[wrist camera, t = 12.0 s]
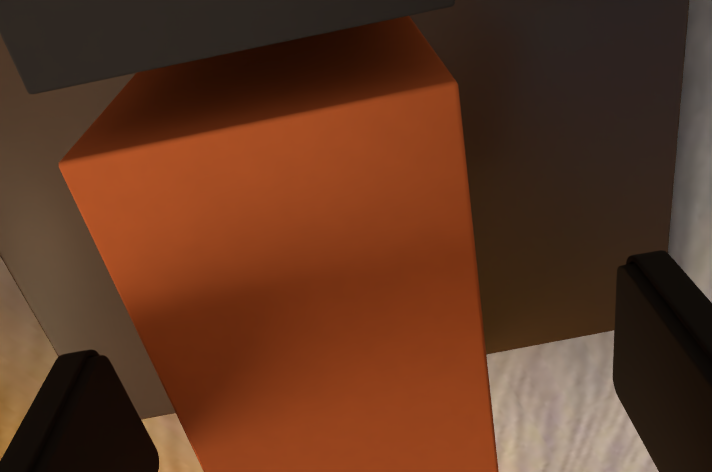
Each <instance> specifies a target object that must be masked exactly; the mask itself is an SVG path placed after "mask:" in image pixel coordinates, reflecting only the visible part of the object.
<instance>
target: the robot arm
mask: <svg viewBox="0 0 712 472" xmlns="http://www.w3.org/2000/svg"><path fill="white" fill-rule="evenodd" d="M613 382H614V387H615V390H616V393H617V395H618V397H619V399H620V401H621V403H622V405H623V407H624V409H625V410H626V412H627V414H628V416H629V418H630V419H631V421H632V423H633V425H634V427H635V429H636V430H637V432H638V434H639V436H640V438H641V440H642V441H643V443H644V445H645V447H646V449H647V451H648V452H649V454H650V456H651V458H652V460H653V462H654V463H655V465H656V467H657V469H658V471H659V472H712V303H711V302H710V301H709V299H708V298H707V297H706V296H705V295H704V294H703V293H702V291H701V290H700V289H699V288H698V287H697V286H696V285H695V283H694V282H693V281H692V280H691V279H690V278H689V277H688V276H687V274H686V273H685V272H684V271H683V270H682V269H681V268H680V266H679V265H678V264H677V263H676V262H675V261H674V260H673V258H672V257H671V256H670V255H669V254H668V253H667V252H666V251H663V250H659V251H654V252H648V253H642V254H636V255H631V256H629V257H628V258H627V261H626V265H621V266H619V267H618V269H617V279H616V305H615V331H614V357H613ZM158 469H159V456H158V452H157V449H156V447H155V445H154V444H153V442H152V440H151V438H150V436H149V434H148V432H147V430H146V428H145V426H144V425H143V423H142V421H141V419H140V417H139V415H138V413H137V411H136V409H135V407H134V406H133V404H132V402H131V400H130V398H129V396H128V394H127V392H126V390H125V388H124V386H123V385H122V383H121V381H120V379H119V377H118V375H117V373H116V371H115V369H114V367H113V366H112V364H111V362H110V360H109V359H108V357H106V356H105V355H101V356H100V355H99V353H98V352H97V351H95V350H91V349H90V350H84V351H78V352H73V353H67V354H62V355H60V356H59V357H58V358H57V360H56V361H55V363H54V365H53V367H52V368H51V370H50V372H49V374H48V376H47V377H46V379H45V381H44V383H43V385H42V387H41V388H40V390H39V392H38V394H37V396H36V397H35V399H34V401H33V403H32V405H31V406H30V408H29V410H28V412H27V414H26V415H25V417H24V419H23V421H22V423H21V425H20V426H19V428H18V430H17V432H16V434H15V435H14V437H13V439H12V441H11V443H10V444H9V446H8V448H7V450H6V452H5V453H4V455H3V457H2V459H1V461H0V472H158Z"/></svg>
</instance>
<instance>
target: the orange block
mask: <svg viewBox="0 0 712 472" xmlns="http://www.w3.org/2000/svg"><path fill="white" fill-rule="evenodd" d="M59 169H60V171H61V173H62V175H63V177H64V179H65V181H66V183H67V185H68V188H69V190H70V192H71V194H72V196H73V198H74V200H75V202H76V204H77V206H78V208H79V211H80V213H81V215H82V217H83V219H84V221H85V223H86V225H87V227H88V229H89V232H90V234H91V236H92V238H93V240H94V242H95V244H96V246H97V248H98V250H99V253H100V255H101V257H102V259H103V261H104V263H105V265H106V267H107V269H108V271H109V274H110V276H111V278H112V280H113V282H114V284H115V286H116V288H117V290H118V292H119V295H120V297H121V299H122V301H123V303H124V305H125V307H126V309H127V311H128V313H129V316H130V318H131V320H132V322H133V324H134V326H135V328H136V330H137V332H138V334H139V337H140V339H141V341H142V343H143V345H144V347H145V349H146V351H147V353H148V355H149V357H150V360H151V362H152V364H153V366H154V368H155V370H156V372H157V374H158V376H159V378H160V381H161V383H162V385H163V387H164V389H165V391H166V393H167V395H168V397H169V399H170V402H171V404H172V406H173V408H174V410H175V412H176V414H177V416H178V418H179V420H180V423H181V425H182V427H183V429H184V431H185V433H186V435H187V437H188V439H189V441H190V444H191V446H192V448H193V450H194V452H195V454H196V456H197V458H198V460H199V462H200V465H201V467H202V469H203V471H204V472H498V463H497V453H496V444H495V434H494V424H493V415H492V405H491V395H490V386H489V376H488V367H487V357H486V347H485V338H484V328H483V319H482V309H481V299H480V290H479V280H478V271H477V261H476V251H475V242H474V232H473V222H472V213H471V203H470V194H469V184H468V174H467V165H466V155H465V146H464V136H463V126H462V117H461V107H460V98H459V88H458V84H457V82H456V80H455V79H454V78H453V76H452V75H451V73H450V72H449V71H448V69H447V68H446V66H445V65H444V64H443V62H442V61H441V60H440V58H439V57H438V55H437V54H436V53H435V51H434V50H433V48H432V47H431V46H430V44H429V43H428V41H427V40H426V39H425V37H424V36H423V35H422V33H421V32H420V30H419V29H418V28H417V26H416V25H415V23H414V22H413V21H412V19H411V18H410V17H409V16H406V17H401V18H396V19H391V20H386V21H382V22H377V23H372V24H367V25H363V26H358V27H353V28H348V29H343V30H339V31H334V32H329V33H324V34H320V35H315V36H310V37H305V38H300V39H296V40H291V41H286V42H281V43H277V44H272V45H267V46H262V47H257V48H253V49H248V50H243V51H238V52H234V53H229V54H224V55H219V56H214V57H210V58H205V59H200V60H195V61H191V62H186V63H181V64H176V65H171V66H167V67H162V68H157V69H152V70H148V71H143V72H138V73H136V74H135V75H134V76H133V77H132V79H131V80H130V81H129V82H128V83H127V84H126V85H125V87H124V88H123V89H122V90H121V91H120V92H119V94H118V95H117V96H116V97H115V98H114V99H113V100H112V102H111V103H110V104H109V105H108V106H107V107H106V109H105V110H104V111H103V112H102V113H101V114H100V116H99V117H98V118H97V119H96V120H95V121H94V122H93V124H92V125H91V126H90V127H89V128H88V129H87V131H86V132H85V133H84V134H83V135H82V136H81V137H80V139H79V140H78V141H77V142H76V143H75V144H74V146H73V147H72V148H71V149H70V150H69V151H68V152H67V154H66V155H65V156H64V157H63V158H62V159H61V161H60V162H59Z"/></svg>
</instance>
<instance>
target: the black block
mask: <svg viewBox="0 0 712 472" xmlns="http://www.w3.org/2000/svg"><path fill="white" fill-rule="evenodd" d="M454 4H455V0H0V35H1V37H2V39H3V41H4V43H5V45H6V47H7V49H8V52H9V54H10V56H11V58H12V60H13V62H14V64H15V66H16V69H17V71H18V73H19V75H20V77H21V79H22V81H23V83H24V85H25V88H26V90H27V92H28V93H29V94H38V93H42V92H47V91H52V90H57V89H61V88H66V87H71V86H76V85H81V84H85V83H90V82H95V81H100V80H105V79H109V78H114V77H119V76H124V75H128V74H133V73H138V72H143V71H148V70H152V69H157V68H162V67H167V66H171V65H176V64H181V63H186V62H191V61H195V60H200V59H205V58H210V57H214V56H219V55H224V54H229V53H234V52H238V51H243V50H248V49H253V48H257V47H262V46H267V45H272V44H277V43H281V42H286V41H291V40H296V39H300V38H305V37H310V36H315V35H320V34H324V33H329V32H334V31H339V30H343V29H348V28H353V27H358V26H363V25H367V24H372V23H377V22H382V21H386V20H391V19H396V18H401V17H406V16H410V15H415V14H420V13H425V12H429V11H434V10H439V9H444V8H449V7H452V6H454Z"/></svg>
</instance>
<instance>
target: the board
mask: <svg viewBox="0 0 712 472" xmlns="http://www.w3.org/2000/svg"><path fill="white" fill-rule="evenodd" d="M688 11H689V0H455V4H454V6H452V7H449V8H444V9H439V10H434V11H429V12H425V13H420V14H415V15H410V16H409V17H410V18H411V19H412V21H413V22H414V23H415V25H416V26H417V28H418V29H419V30H420V32H421V33H422V35H423V36H424V37H425V39H426V40H427V41H428V43H429V44H430V46H431V47H432V48H433V50H434V51H435V53H436V54H437V55H438V57H439V58H440V60H441V61H442V62H443V64H444V65H445V66H446V68H447V69H448V71H449V72H450V73H451V75H452V76H453V78H454V79H455V80H456V82H457V84H458V88H459V98H460V107H461V117H462V126H463V136H464V146H465V155H466V165H467V174H468V184H469V194H470V203H471V213H472V222H473V232H474V242H475V251H476V261H477V271H478V280H479V290H480V299H481V309H482V319H483V328H484V338H485V347H486V354H491V353H496V352H501V351H507V350H512V349H517V348H523V347H528V346H533V345H539V344H544V343H549V342H554V341H560V340H565V339H570V338H576V337H581V336H586V335H592V334H597V333H602V332H608V331H613V330H615V305H616V279H617V269H618V267H619V266H621V265H626V261H627V258H628V257H629V256H631V255H636V254H642V253H648V252H654V251H659V250H663V251H666V252H667V253H668V243H669V231H670V220H671V208H672V196H673V185H674V173H675V162H676V150H677V138H678V127H679V115H680V104H681V92H682V80H683V69H684V57H685V45H686V34H687V22H688ZM135 74H136V73H133V74H128V75H124V76H119V77H114V78H109V79H105V80H100V81H95V82H90V83H85V84H81V85H76V86H71V87H66V88H61V89H57V90H52V91H47V92H42V93H38V94H29V93H28V92H27V90H26V88H25V85H24V83H23V81H22V79H21V77H20V75H19V73H18V71H17V69H16V66H15V64H14V62H13V60H12V58H11V56H10V54H9V52H8V49H7V47H6V45H5V43H4V41H3V39H2V37H1V35H0V256H1V258H2V259H3V261H4V263H5V265H6V266H7V268H8V270H9V272H10V273H11V275H12V277H13V279H14V280H15V282H16V284H17V285H18V287H19V289H20V291H21V292H22V294H23V296H24V298H25V299H26V301H27V303H28V305H29V306H30V308H31V310H32V311H33V313H34V315H35V317H36V318H37V320H38V322H39V324H40V325H41V327H42V329H43V331H44V332H45V334H46V336H47V338H48V339H49V341H50V343H51V344H52V346H53V348H54V350H55V351H56V353H57V355H58V357H59V356H60V355H62V354H67V353H73V352H78V351H84V350H90V349H91V350H95V351H97V352H98V353H99V355H100V356H101V355H105V356H106V357H108V359H109V360H110V362H111V364H112V366H113V367H114V369H115V371H116V373H117V375H118V377H119V379H120V381H121V383H122V385H123V386H124V388H125V390H126V392H127V394H128V396H129V398H130V400H131V402H132V404H133V406H134V407H135V409H136V411H137V413H138V415H139V417H140V419H146V418H151V417H156V416H162V415H167V414H172V413H176V412H175V410H174V408H173V406H172V404H171V402H170V399H169V397H168V395H167V393H166V391H165V389H164V387H163V385H162V383H161V381H160V378H159V376H158V374H157V372H156V370H155V368H154V366H153V364H152V362H151V360H150V357H149V355H148V353H147V351H146V349H145V347H144V345H143V343H142V341H141V339H140V337H139V334H138V332H137V330H136V328H135V326H134V324H133V322H132V320H131V318H130V316H129V313H128V311H127V309H126V307H125V305H124V303H123V301H122V299H121V297H120V295H119V292H118V290H117V288H116V286H115V284H114V282H113V280H112V278H111V276H110V274H109V271H108V269H107V267H106V265H105V263H104V261H103V259H102V257H101V255H100V253H99V250H98V248H97V246H96V244H95V242H94V240H93V238H92V236H91V234H90V232H89V229H88V227H87V225H86V223H85V221H84V219H83V217H82V215H81V213H80V211H79V208H78V206H77V204H76V202H75V200H74V198H73V196H72V194H71V192H70V190H69V188H68V185H67V183H66V181H65V179H64V177H63V175H62V173H61V171H60V169H59V162H60V161H61V159H62V158H63V157H64V156H65V155H66V154H67V152H68V151H69V150H70V149H71V148H72V147H73V146H74V144H75V143H76V142H77V141H78V140H79V139H80V137H81V136H82V135H83V134H84V133H85V132H86V131H87V129H88V128H89V127H90V126H91V125H92V124H93V122H94V121H95V120H96V119H97V118H98V117H99V116H100V114H101V113H102V112H103V111H104V110H105V109H106V107H107V106H108V105H109V104H110V103H111V102H112V100H113V99H114V98H115V97H116V96H117V95H118V94H119V92H120V91H121V90H122V89H123V88H124V87H125V85H126V84H127V83H128V82H129V81H130V80H131V79H132V77H133V76H134V75H135Z"/></svg>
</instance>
